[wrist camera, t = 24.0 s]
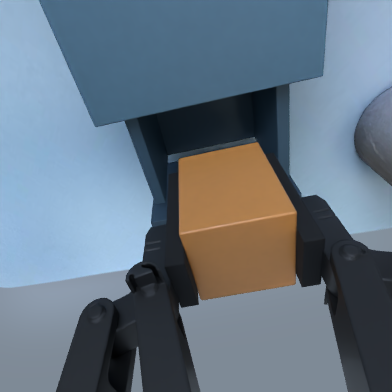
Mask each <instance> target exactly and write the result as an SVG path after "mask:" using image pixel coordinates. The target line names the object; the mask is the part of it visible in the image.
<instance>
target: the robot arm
mask: <svg viewBox="0 0 392 392" xmlns="http://www.w3.org/2000/svg"><path fill="white" fill-rule="evenodd" d="M265 156H266V158H267V159H268V161H269V163H270V165H271V167H272V168H273V170H274V172H275V174H276V176H277V177H278V179H279V181H280V183H281V185H282V186H283V188H284V190H285V192H286V194H287V195H288V197H289V199H290V201H291V203H292V204H293V206H294V208H295V210H296V211H297V227H296V274H297V277H298V278H299V281H300V284H301V286H302V287H307V286H313V285H319V284H321V276H322V278H323V280H324V282H325V284H326V292H325V299H324V301H325V302H324V304H327V303H328V305H329V310H330V314H331V319H332V323H333V328H334V332H335V336H336V341H337V345H338V349H339V354H340V358H341V363H342V367H343V372H344V376H345V380H346V385H347V389H348V392H392V252H384V251H375V250H370V249H368V248H367V247H366V246H365V245H364V244H362V243H360V242H358V241H355V240H353V238H352V237H351V236H350V234H349V233H348V232H347V230H346V229H345V227H344V226H343V225H342V223H341V222H340V220H339V219H338V218H337V216H335V213H334V212H333V211H332V210H331V208H330V207H329V205H328V204H327V202H326V201H325V200H323V199H322V198H320V197H319V196H317V195H313V196H307V197H302V198H301V197H300V195H299V194H298V192H297V190H296V189H295V187H294V186H293V184H292V182H291V181H290V179H289V177H288V176H287V174H286V172H285V171H284V169H283V167H282V166H281V164H280V163H279V161H278V159H277V158H276V156H275V154H274V153H269V154H265ZM126 283H127V285H128V286H129V288H130V290H131V292H130V293H129V294H128V295H126V296H124V297H122V298H120V299H118V300H116V301H114V302H112V301H111V300H109V299H107V298H100V299H96V300H94V301H92V302H91V303H90V304H88V305H87V306H86V307H85V309H84V310H83V311H82V314H81V315H80V318H79V321H78V324H77V327H76V330H75V334H74V337H73V340H72V343H71V346H70V349H69V352H68V355H67V359H66V362H65V365H64V368H63V371H62V374H61V378H60V381H59V384H58V387H57V390H56V392H131V386H132V379H133V370H134V363H135V356H136V348H137V347H139V356H140V366H141V376H142V385H143V392H200V388H199V385H198V381H197V377H196V373H195V369H194V365H193V362H192V357H191V353H190V349H189V346H188V342H187V338H186V334H185V330H184V326H183V323H182V319H181V316H180V313H179V303H180V306H181V307H187V306H194V305H198V304H199V303H198V289H197V286H196V283H195V280H194V277H193V274H192V271H191V268H190V265H189V262H188V259H187V256H186V253H185V250H184V247H183V245H182V242H181V239H180V236H179V172H177V173H172V174H169V177H168V198H167V220H166V224H165V225H160V226H155V227H151V228H150V230H149V231H148V233H147V234H146V239H145V246H144V254H143V262H140V263H138V264H136V265H134V266H133V267H132V268H131V269H130V270H129V272H128V273H127V275H126Z"/></svg>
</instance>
